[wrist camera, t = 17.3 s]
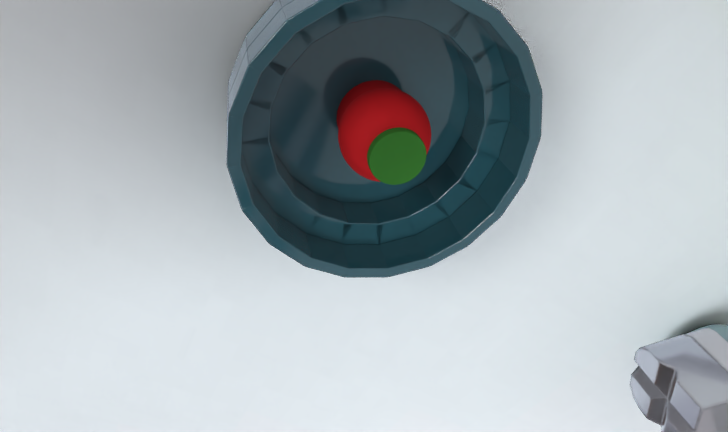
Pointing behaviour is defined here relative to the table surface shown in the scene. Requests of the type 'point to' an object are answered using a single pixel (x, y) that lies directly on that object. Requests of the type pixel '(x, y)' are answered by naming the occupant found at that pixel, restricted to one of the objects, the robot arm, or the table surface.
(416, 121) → the strawberry
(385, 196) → the bowl
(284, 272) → the table surface
